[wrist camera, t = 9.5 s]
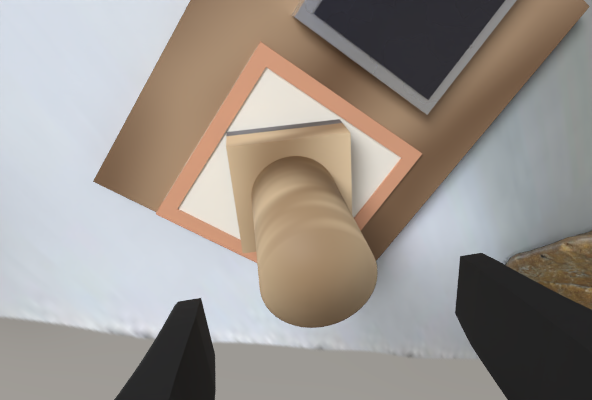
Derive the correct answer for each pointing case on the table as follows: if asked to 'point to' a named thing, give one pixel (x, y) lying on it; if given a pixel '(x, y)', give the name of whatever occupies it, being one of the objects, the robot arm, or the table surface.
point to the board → (334, 75)
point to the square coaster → (269, 113)
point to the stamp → (301, 220)
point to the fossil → (561, 267)
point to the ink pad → (406, 38)
